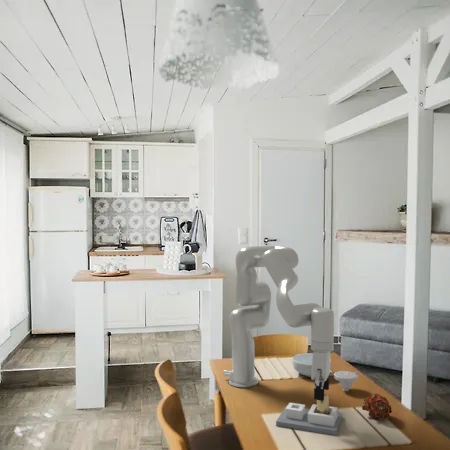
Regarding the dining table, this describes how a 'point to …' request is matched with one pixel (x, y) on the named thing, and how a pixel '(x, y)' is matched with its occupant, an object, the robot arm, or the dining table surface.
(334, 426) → the socket board
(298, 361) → the cereal bowl
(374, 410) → the dragon fruit
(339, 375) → the showerhead
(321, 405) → the gold rounded cylinder
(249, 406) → the dining table surface
